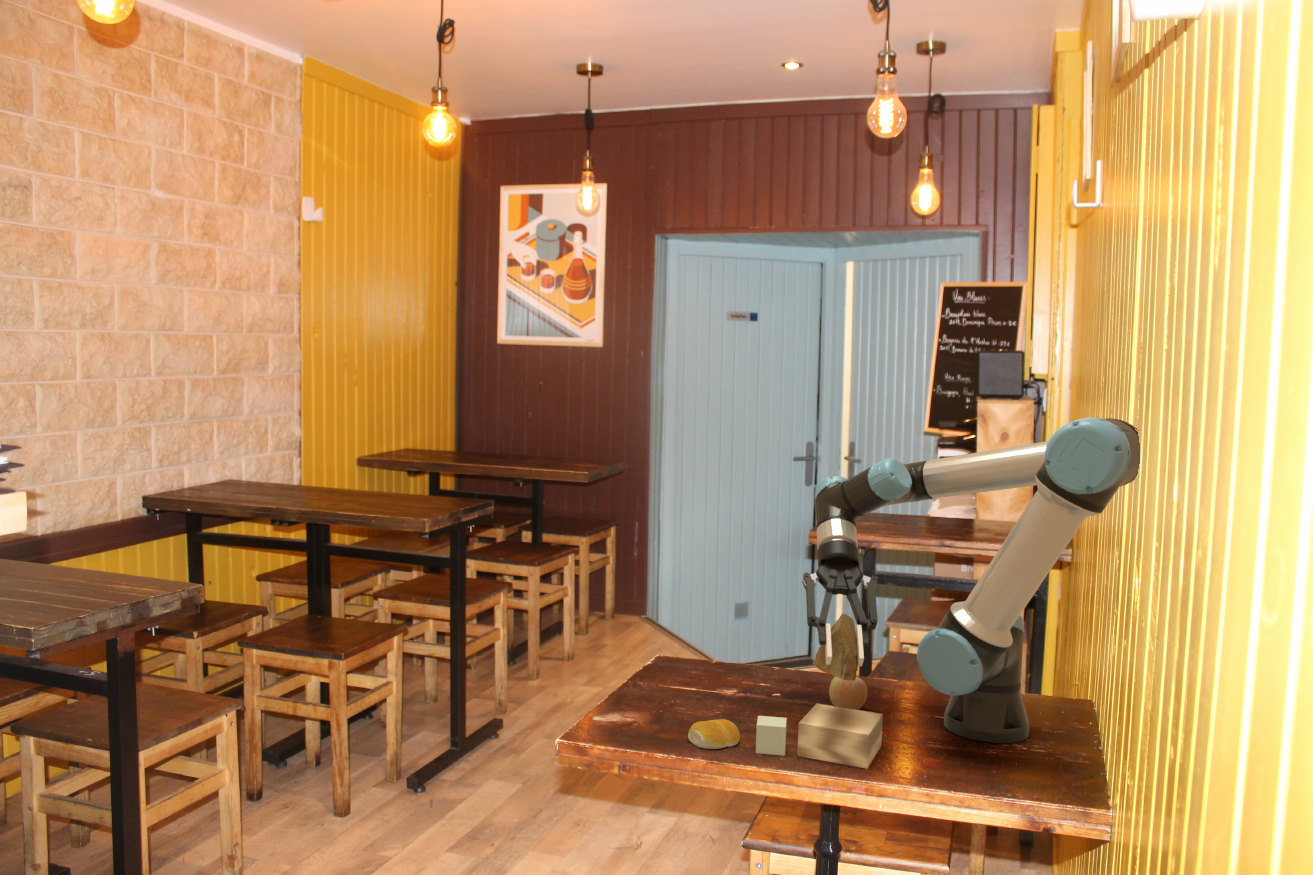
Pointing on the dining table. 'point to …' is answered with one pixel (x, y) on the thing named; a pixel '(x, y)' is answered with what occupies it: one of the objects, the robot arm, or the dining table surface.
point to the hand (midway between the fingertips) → (844, 661)
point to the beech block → (840, 735)
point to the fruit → (848, 693)
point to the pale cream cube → (771, 735)
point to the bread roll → (714, 734)
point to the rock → (840, 650)
